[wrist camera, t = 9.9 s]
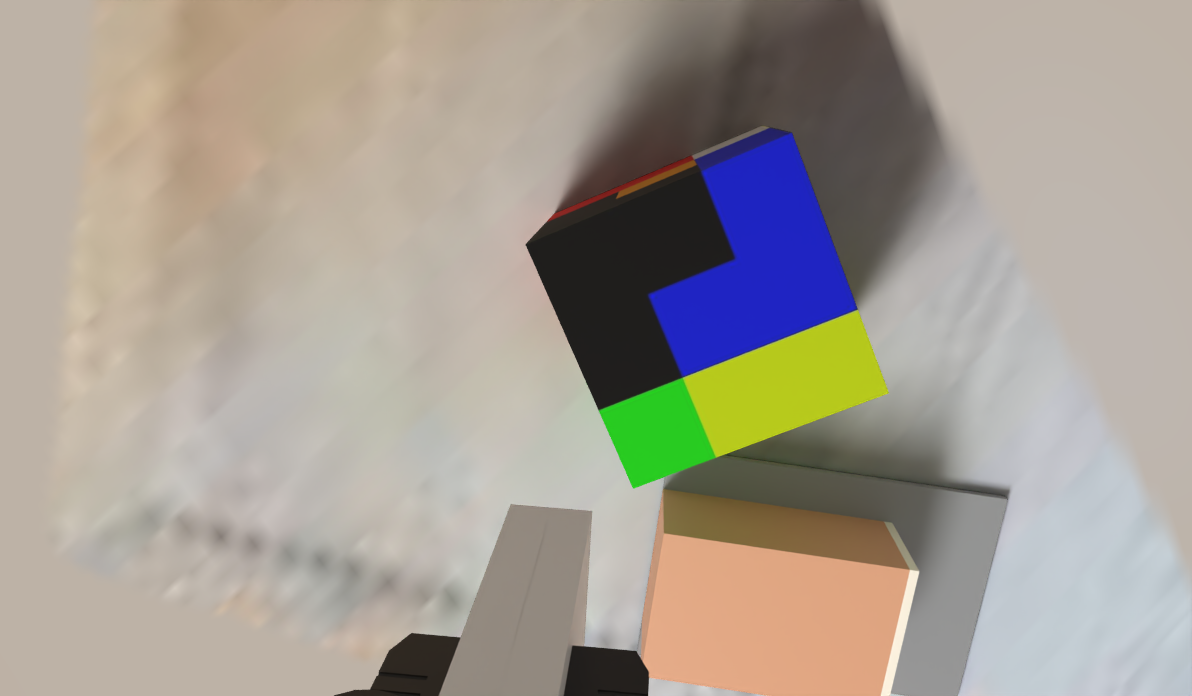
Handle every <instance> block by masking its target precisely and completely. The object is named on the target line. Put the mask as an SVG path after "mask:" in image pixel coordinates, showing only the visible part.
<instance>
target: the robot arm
mask: <svg viewBox="0 0 1192 696" xmlns="http://www.w3.org/2000/svg"><path fill="white" fill-rule="evenodd" d="M591 521H592V511H585V510H572V509H560V508H548V507H536V506H524V505H512V504H511V505H510V508H509V511H508V513H507V516H506V519H505V521H504V524H503V526H502V529H501V532H500V534H499V537H498V540H497V542H496V545H495V548H494V550H493V553H492V556H491V558H490V561H489V564H488V566H487V569H486V572H485V574H484V577H483V580H482V582H481V585H480V588H479V590H478V593H477V596H476V598H475V601H474V604H473V606H472V609H471V611H470V614H469V617H468V619H467V622H466V625H465V627H464V630H463V633H462V635H461V638H459V637H448V636H437V635H426V634H415V633H411V634H410V635H408V636H407V637H406V638H405V639H403V640H402V641H401V642H400V643H398V644H397V645H396V646H394V647H393V648H392V649H391V650H389V652H388V654H387V656H386V658H385V660H384V662H383V664H382V666H381V668H380V670H379V675H378V676H377V677H376V679H375V681H374V683H373V685H372V687H371V689H370V690H353V691H350V692H346V693H342V694H338V695H335V696H648V685H649V671H648V669H647V668H646V666H645V665H644V663H643V661H642V660H641V658H640V656H639V655H638V653H637V651H629V650H618V649H607V648H596V647H585V646H584V639H585V622H586V605H587V589H588V572H589V555H590V538H591Z"/></svg>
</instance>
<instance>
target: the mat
mask: <svg viewBox="0 0 1192 696" xmlns="http://www.w3.org/2000/svg"><path fill="white" fill-rule="evenodd" d="M663 489H667V490H674V491H680V492H687V493H694V494H701V495H708V496H714V497H721V498H728V499H735V500H742V501H748V502H755V503H762V504H769V505H775V506H782V507H789V508H796V509H803V510H809V511H816V512H823V513H830V514H836V515H843V516H850V517H857V518H864V519H870V520H877V521H884V522H891V523H893V525H894V527H895V529H896V530H897V532H898V534H899V536H900V538H901V539H902V541H903V543H904V545H905V546H906V548H907V550H908V552H909V554H910V555H911V557H912V559H913V561H914V563H915V564H916V566H917V568H918V570H919V575H918V579H917V584H916V588H915V592H914V596H913V600H912V605H911V609H910V613H909V617H908V622H907V626H906V630H905V634H904V639H903V643H902V647H901V651H900V655H899V660H898V664H897V668H896V672H895V677H894V681H893V685H892V689H891V694H898V695H905V696H958V692H959V688H960V684H961V680H962V676H963V672H964V668H965V665H966V661H967V657H968V653H969V649H970V645H971V641H972V637H973V633H974V629H975V625H976V622H977V618H978V614H979V610H980V606H981V602H982V598H983V594H984V590H985V586H986V583H987V579H988V575H989V571H990V567H991V563H992V559H993V555H994V551H995V547H996V543H997V540H998V536H999V532H1000V528H1001V524H1002V520H1003V516H1004V512H1005V508H1006V504H1007V500H1008V499H1007V498H1006V497H1005V496H1000V495H993V494H987V493H980V492H973V491H966V490H959V489H952V488H946V487H939V486H932V485H925V484H918V483H911V482H905V481H898V480H891V479H884V478H877V477H870V476H864V475H857V474H850V473H843V472H836V471H829V470H823V469H816V468H809V467H802V466H795V465H788V464H782V463H775V462H768V461H761V460H754V459H748V458H741V457H734V456H727V455H722V456H719V457H717V458H714V459H711V460H709V461H706V462H703V463H701V464H698V465H695V466H692V467H690V468H687V469H684V470H682V471H679V472H676V473H674V474H671V475H668V476H666V477H665V480H664V486H663ZM662 493H663V492H662ZM653 549H654V548H653ZM648 580H649V579H648ZM643 611H644V610H643ZM641 641H642V623H641V629H640V635H639V642H638V648H637V653H638V655H641Z"/></svg>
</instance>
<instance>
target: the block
mask: <svg viewBox="0 0 1192 696" xmlns="http://www.w3.org/2000/svg"><path fill="white" fill-rule="evenodd" d="M918 575H919V570H918V568H917V566H916V564H915V563H914V561H913V559H912V557H911V555H910V554H909V552H908V550H907V548H906V546H905V545H904V543H903V541H902V539H901V538H900V536H899V534H898V532H897V530H896V529H895V527H894V525H893V523H891V522H884V521H877V520H870V519H864V518H857V517H850V516H843V515H836V514H830V513H823V512H816V511H809V510H803V509H796V508H789V507H782V506H775V505H769V504H762V503H755V502H748V501H742V500H735V499H728V498H721V497H714V496H708V495H701V494H694V493H687V492H680V491H674V490H667V489H663V493H662V499H661V505H660V511H659V517H658V524H657V530H656V536H655V542H654V549H653V555H652V561H651V567H650V573H649V580H648V586H647V592H646V598H645V604H644V611H643V617H642V641H641V660H642V661H643V663H644V665H645V666H646V668H647V669H648V671H649V678H655V679H662V680H669V681H675V682H682V683H688V684H695V685H701V686H708V687H714V688H721V689H728V690H734V691H741V692H747V693H754V694H760V695H767V696H890V694H891V689H892V685H893V681H894V677H895V672H896V668H897V664H898V660H899V655H900V651H901V647H902V643H903V639H904V634H905V630H906V626H907V622H908V617H909V613H910V609H911V605H912V600H913V596H914V592H915V588H916V584H917V579H918Z"/></svg>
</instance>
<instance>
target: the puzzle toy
mask: <svg viewBox="0 0 1192 696" xmlns="http://www.w3.org/2000/svg"><path fill="white" fill-rule="evenodd" d="M526 246H527V249H528V251H529V253H530V256H531V258H532V260H533V262H534V265H535V267H536V269H537V271H538V274H539V276H540V278H541V281H542V283H543V285H544V287H545V290H546V292H547V294H548V296H549V299H550V301H551V303H552V305H553V308H554V310H555V312H556V315H557V317H558V319H559V321H560V324H561V326H562V328H563V330H564V333H565V335H566V337H567V340H568V342H569V344H570V346H571V349H572V351H573V353H574V355H575V358H576V360H577V362H578V364H579V367H580V369H581V371H582V374H583V376H584V378H585V380H586V383H587V385H588V387H589V389H590V392H591V394H592V396H593V399H594V401H595V403H596V405H597V408H598V410H599V412H600V414H601V417H602V419H603V421H604V423H605V426H606V428H607V430H608V433H609V435H610V437H611V439H612V442H613V444H614V446H615V448H616V451H617V453H618V455H619V458H620V460H621V462H622V464H623V467H624V469H625V471H626V473H627V476H628V478H629V480H630V483H631V485H632V487H633V488H636V487H639V486H642V485H644V484H647V483H650V482H652V481H655V480H658V479H660V478H663V477H666V476H668V475H671V474H674V473H676V472H679V471H682V470H684V469H687V468H690V467H692V466H695V465H698V464H701V463H703V462H706V461H709V460H711V459H714V458H717V457H719V456H722V455H725V454H727V453H730V452H733V451H735V450H738V449H741V448H743V447H746V446H749V445H751V444H754V443H757V442H759V441H762V440H765V439H768V438H770V437H773V436H776V435H778V434H781V433H784V432H786V431H789V430H792V429H794V428H797V427H800V426H802V425H805V424H808V423H810V422H813V421H816V420H818V419H821V418H824V417H826V416H829V415H832V414H835V413H837V412H840V411H843V410H845V409H848V408H851V407H853V406H856V405H859V404H861V403H864V402H867V401H869V400H872V399H875V398H877V397H880V396H883V395H885V394H888V393H889V392H888V389H887V387H886V384H885V381H884V379H883V376H882V373H881V370H880V368H879V365H878V362H877V360H876V357H875V354H874V352H873V349H872V346H871V344H870V341H869V338H868V336H867V333H866V330H865V327H864V325H863V322H862V319H861V317H860V314H859V311H858V309H857V306H856V303H855V301H854V298H853V295H852V293H851V290H850V287H849V285H848V282H847V279H846V276H845V274H844V271H843V268H842V266H841V263H840V260H839V258H838V255H837V252H836V250H835V247H834V244H833V242H832V239H831V236H830V234H829V231H828V228H827V225H826V223H825V220H824V217H823V215H822V212H821V209H820V207H819V204H818V201H817V199H816V196H815V193H814V191H813V188H812V185H811V182H810V180H809V177H808V174H807V172H806V169H805V166H804V164H803V161H802V158H801V156H800V153H799V150H798V148H797V145H796V142H795V140H794V137H793V134H792V132H788V131H784V130H779V129H775V128H770V127H766V126H760V127H758V128H755V129H753V130H751V131H748V132H746V133H743V134H741V135H739V136H736V137H734V138H732V139H729V140H727V141H725V142H722V143H720V144H718V145H715V146H713V147H710V148H708V149H706V150H703V151H701V152H699V153H696V154H694V155H692V156H689V157H687V158H685V159H682V160H680V161H677V162H675V163H673V164H670V165H668V166H666V167H663V168H661V169H659V170H656V171H654V172H652V173H649V174H647V175H644V176H642V177H640V178H637V179H635V180H633V181H630V182H628V183H626V184H623V185H621V186H618V187H616V188H614V189H611V190H609V191H607V192H604V193H602V194H600V195H597V196H595V197H593V198H590V199H588V200H585V201H583V202H581V203H578V204H576V205H574V206H571V207H569V208H567V209H564V210H562V211H560V212H557V213H555V214H553V216H552V217H551V218H550V219H549V220H548V221H547V222H546V223H545V224H544V225H543V226H542V227H541V228H540V229H539V231H538V232H537V233H536V234H535V235H534V236H533V237H532V238H531V239H530V240H529V241H528V242H527V243H526Z"/></svg>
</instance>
